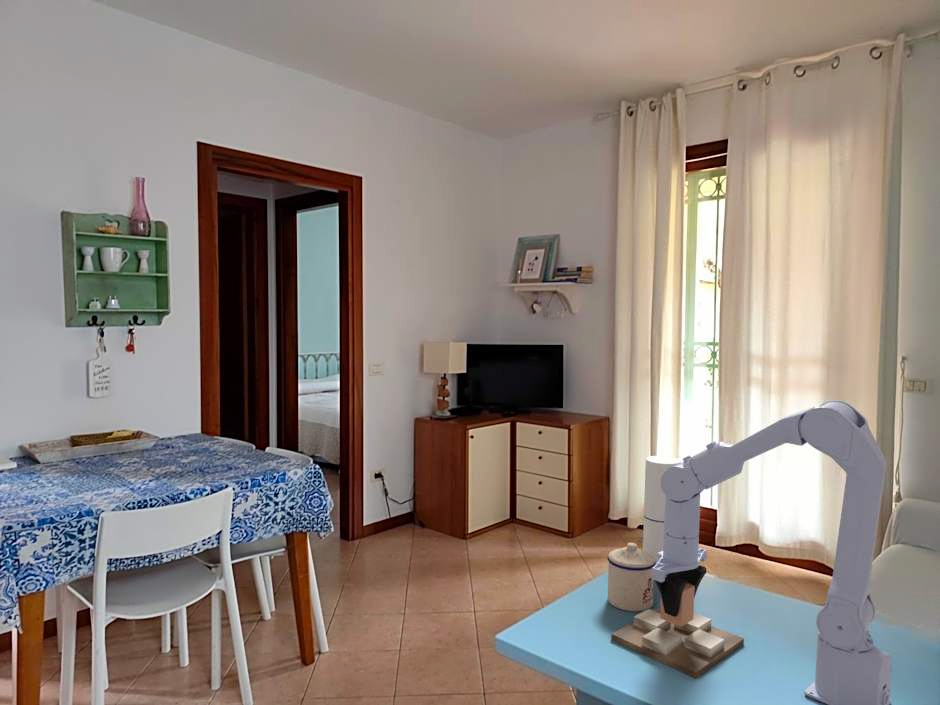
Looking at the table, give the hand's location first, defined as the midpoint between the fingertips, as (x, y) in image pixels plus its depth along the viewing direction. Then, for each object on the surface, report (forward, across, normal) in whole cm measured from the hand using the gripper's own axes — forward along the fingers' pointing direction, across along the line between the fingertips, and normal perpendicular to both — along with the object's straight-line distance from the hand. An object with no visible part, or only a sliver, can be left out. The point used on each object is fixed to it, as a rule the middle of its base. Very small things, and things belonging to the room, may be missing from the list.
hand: (678, 610), depth 116 cm
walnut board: (+6, 0, 0) cm, 6 cm away
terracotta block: (+2, 0, 0) cm, 2 cm away
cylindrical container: (+6, -23, -18) cm, 30 cm away
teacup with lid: (+6, -8, -15) cm, 18 cm away
